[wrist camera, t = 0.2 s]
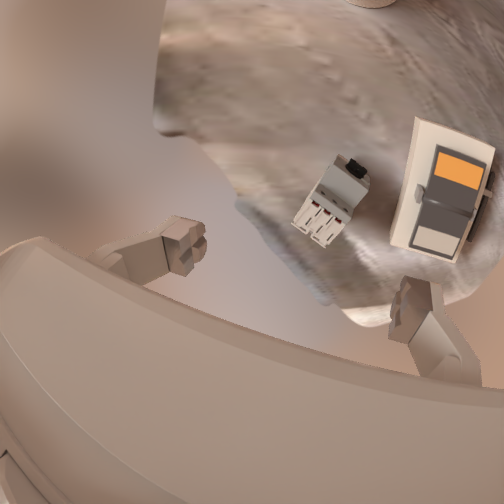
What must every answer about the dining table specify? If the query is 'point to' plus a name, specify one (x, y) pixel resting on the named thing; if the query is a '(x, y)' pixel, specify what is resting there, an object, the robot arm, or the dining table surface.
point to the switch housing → (418, 174)
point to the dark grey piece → (482, 205)
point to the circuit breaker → (333, 200)
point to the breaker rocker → (447, 202)
